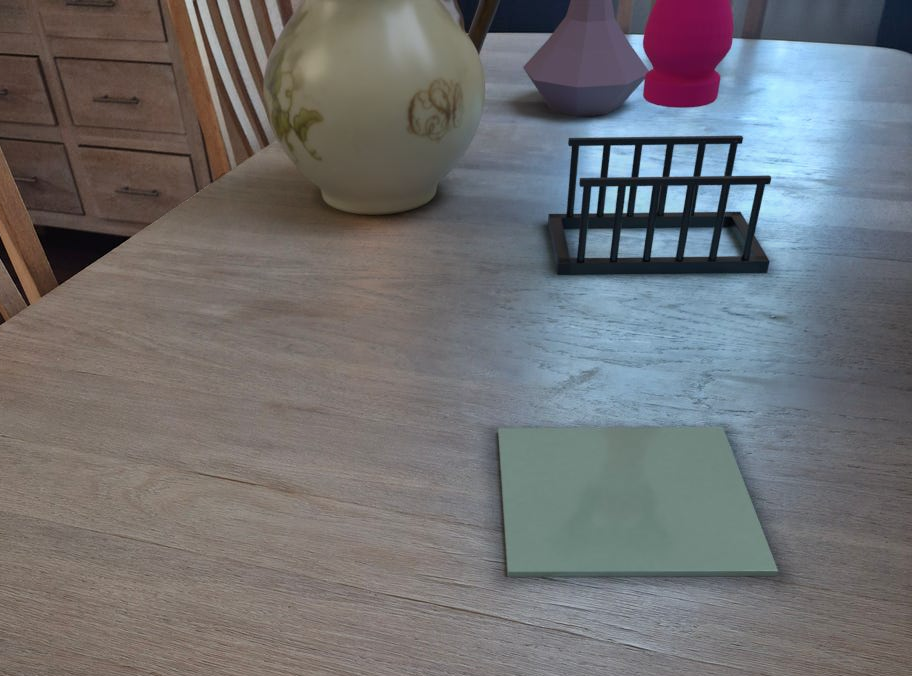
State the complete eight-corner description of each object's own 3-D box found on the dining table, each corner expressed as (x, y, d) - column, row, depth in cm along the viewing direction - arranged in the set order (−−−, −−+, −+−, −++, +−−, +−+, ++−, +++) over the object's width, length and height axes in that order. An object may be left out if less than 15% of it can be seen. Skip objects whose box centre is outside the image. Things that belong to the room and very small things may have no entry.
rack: (738, 223, 96) (756, 134, 90) (766, 274, 87) (789, 178, 81) (547, 225, 96) (553, 136, 91) (557, 276, 88) (564, 181, 82)
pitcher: (243, 223, 98) (198, -78, 81) (322, 151, 114) (299, -113, 97) (453, 243, 93) (453, -72, 76) (504, 165, 110) (514, -110, 92)
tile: (721, 432, 68) (722, 426, 68) (776, 577, 57) (778, 570, 56) (497, 434, 68) (498, 427, 68) (507, 578, 57) (507, 571, 57)
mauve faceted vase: (593, 83, 134) (609, -96, 120) (672, 111, 123) (699, -81, 110) (496, 102, 128) (501, -84, 114) (570, 133, 117) (585, -66, 104)
